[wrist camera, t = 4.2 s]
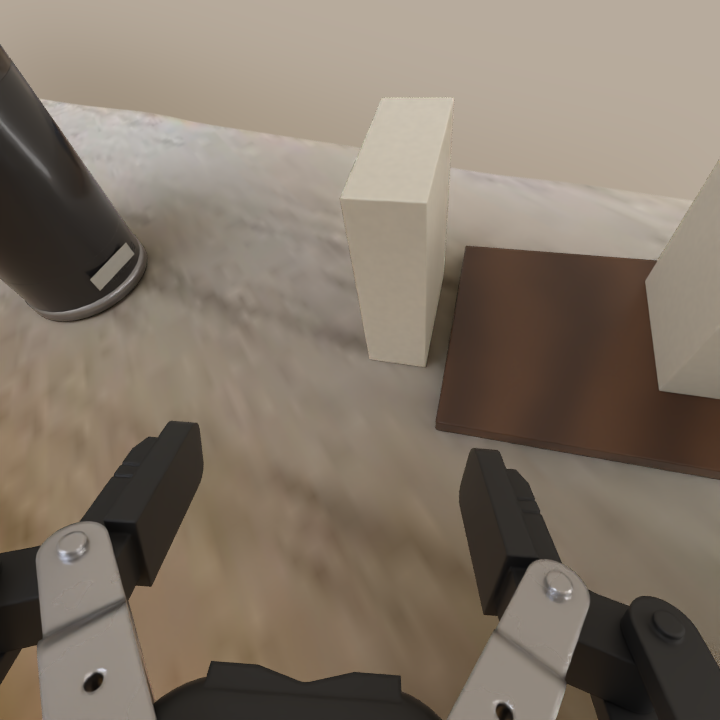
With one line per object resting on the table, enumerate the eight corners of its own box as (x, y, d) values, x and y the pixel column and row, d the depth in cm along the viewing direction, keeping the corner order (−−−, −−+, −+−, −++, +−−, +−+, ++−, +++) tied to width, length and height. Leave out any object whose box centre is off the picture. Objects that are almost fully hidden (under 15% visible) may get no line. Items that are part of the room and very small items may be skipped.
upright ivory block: (369, 359, 28) (339, 197, 18) (394, 269, 32) (381, 96, 22) (425, 367, 27) (427, 202, 17) (444, 274, 31) (454, 96, 21)
